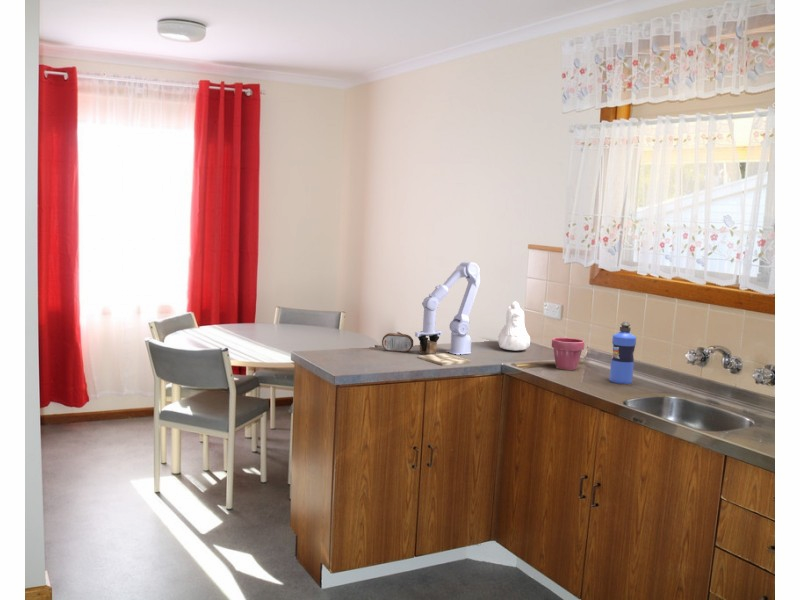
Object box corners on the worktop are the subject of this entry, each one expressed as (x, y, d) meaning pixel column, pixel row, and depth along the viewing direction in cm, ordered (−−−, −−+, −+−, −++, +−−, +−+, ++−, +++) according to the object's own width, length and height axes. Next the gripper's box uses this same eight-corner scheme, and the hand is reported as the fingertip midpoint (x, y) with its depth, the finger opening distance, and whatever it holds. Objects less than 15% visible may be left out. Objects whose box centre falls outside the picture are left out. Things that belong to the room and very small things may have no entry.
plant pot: (554, 363, 329) (556, 335, 328) (585, 367, 323) (587, 339, 322) (546, 368, 316) (548, 340, 315) (578, 372, 311) (580, 343, 309)
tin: (413, 351, 342) (413, 334, 341) (412, 352, 339) (413, 335, 338) (381, 349, 343) (382, 332, 342) (381, 351, 340) (381, 333, 339)
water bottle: (626, 379, 302) (630, 320, 299) (636, 384, 293) (641, 323, 290) (605, 378, 301) (610, 320, 298) (615, 384, 292) (620, 323, 289)
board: (445, 355, 336) (445, 353, 336) (470, 362, 322) (470, 360, 322) (418, 357, 327) (418, 355, 327) (442, 365, 313) (442, 363, 313)
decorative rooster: (528, 354, 348) (532, 304, 345) (496, 352, 351) (499, 301, 348) (530, 346, 372) (534, 298, 369) (500, 343, 375) (503, 296, 372)
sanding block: (426, 352, 342) (426, 339, 342) (436, 355, 336) (436, 342, 335) (419, 352, 340) (419, 340, 339) (429, 355, 333) (430, 343, 333)
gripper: (436, 320, 344) (434, 348, 345) (411, 321, 335) (410, 350, 337) (445, 322, 338) (443, 351, 339) (420, 324, 330) (419, 353, 331)
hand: (427, 350), depth 338 cm, fingers closed on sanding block, 4 cm apart
